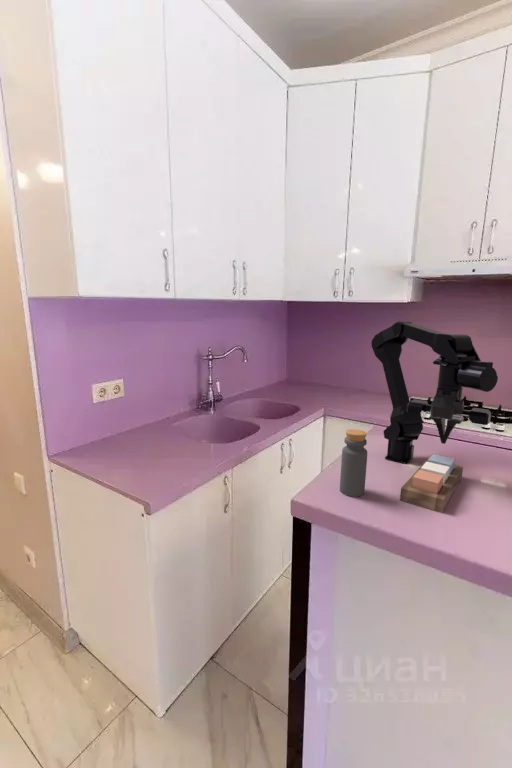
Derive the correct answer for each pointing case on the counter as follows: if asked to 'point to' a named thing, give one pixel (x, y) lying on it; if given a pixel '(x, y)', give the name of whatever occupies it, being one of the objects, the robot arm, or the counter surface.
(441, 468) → the button cream
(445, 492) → the wooden compartment tray
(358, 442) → the bottle
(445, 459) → the button slate
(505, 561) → the counter surface
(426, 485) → the button terracotta
